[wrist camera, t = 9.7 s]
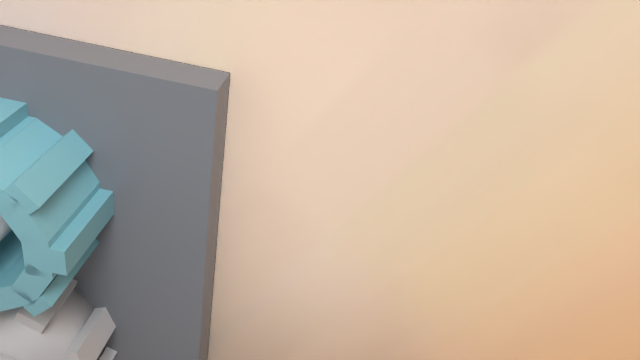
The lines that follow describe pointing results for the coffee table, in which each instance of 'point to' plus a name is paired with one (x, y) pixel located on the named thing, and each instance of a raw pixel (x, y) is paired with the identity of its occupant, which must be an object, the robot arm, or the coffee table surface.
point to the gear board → (127, 198)
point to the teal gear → (45, 209)
